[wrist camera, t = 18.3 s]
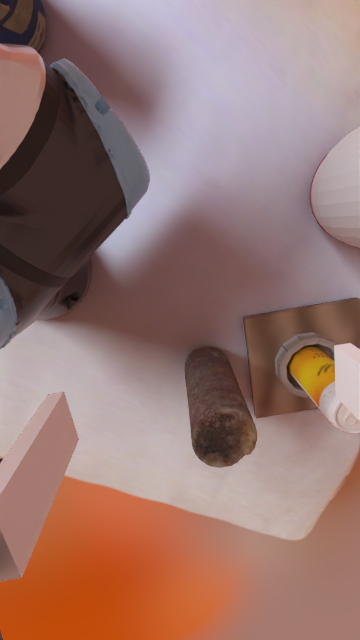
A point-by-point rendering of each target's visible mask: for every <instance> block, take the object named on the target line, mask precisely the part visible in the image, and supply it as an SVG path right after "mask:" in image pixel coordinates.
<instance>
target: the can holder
mask: <svg viewBox="0 0 360 640" xmlns="http://www.w3.org/2000/svg"><path fill="white" fill-rule="evenodd" d="M243 319H244V328H245V336H246V345H247V354H248V362H249V371H250V380H251V388H252V397H253V406H254V414H255V416H256V418H261V417H267V416H273V415H278V414H284V413H290V412H296V411H302V410H308V409H314V408H318V407H317V406H316V404H315V403H314V402H313V401H312V399H311V398H310V397H309V396H308V395H307V393H306V392H305V391H304V390H303V388H302V387H301V386H300V385H299V384H298V382H297V381H296V380H295V379H294V377H293V376H292V375H291V373H290V371H289V361H290V358H291V357H292V355H293V354H294V353H295V352H296V351H298V350H299V349H301V348H303V347H308V346H311V347H316V348H318V349H320V350H321V351H323V352H324V353H325V354H326V355H327V356H329V357H330V358H331V359H332V360H333V361H335V357H334V346H335V345H341V344H346V343H351V344H353V345H354V346H356V347H357V348H359V349H360V299H359V298H350V299H344V300H339V301H333V302H327V303H321V304H315V305H310V306H304V307H298V308H292V309H286V310H281V311H275V312H269V313H263V314H257V315H252V316H246V317H243Z"/></svg>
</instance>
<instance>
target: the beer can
mask: <svg viewBox="0 0 360 640" xmlns="http://www.w3.org/2000/svg"><path fill="white" fill-rule="evenodd" d="M289 371H290V373H291V375H292V376H293V377H294V379H295V380H296V381H297V382H298V384H299V385H300V386H301V387H302V388H303V390H304V391H305V392H306V393H307V395H308V396H309V397H310V398H311V399H312V401H313V402H314V403H315V404H316V406H317V407H318V408H319V409H320V411H321V412H322V413H323V414H324V415H325V417H326V418H327V419H328V420H329V422H330V423H331V424H332V425H333V426H334V427H336V428H338V429H340V430H342V431H344V432H347V433H352V434H355V433H360V421H359V420H358V419H357V418H356V417H355V416H354V415H353V414H352V413H351V411H350V410H349V409H348V408H347V407H346V406H345V405H344V404H343V403H342V402H341V401H340V400H339V399H338V398H337V397H336V391H335V361H333V360H332V359H331V358H330V357H329V356H327V355H326V354H325V353H324V352H323V351H321V350H320V349H318V348H316V347H311V346H308V347H303V348H301V349H299V350H298V351H296V352H295V353H294V354H293V355H292V357H291V358H290V361H289Z"/></svg>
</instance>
